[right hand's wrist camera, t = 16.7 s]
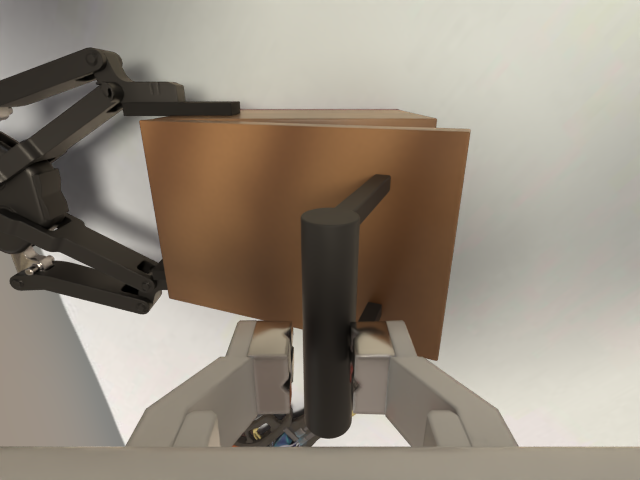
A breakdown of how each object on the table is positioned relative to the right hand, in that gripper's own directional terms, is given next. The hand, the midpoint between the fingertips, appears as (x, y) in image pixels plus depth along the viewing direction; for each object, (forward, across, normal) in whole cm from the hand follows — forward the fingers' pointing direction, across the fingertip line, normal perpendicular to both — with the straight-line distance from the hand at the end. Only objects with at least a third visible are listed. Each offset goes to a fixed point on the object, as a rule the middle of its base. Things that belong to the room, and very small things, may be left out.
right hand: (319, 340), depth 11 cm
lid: (+9, +1, 0) cm, 10 cm away
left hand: (+16, +5, 0) cm, 17 cm away
